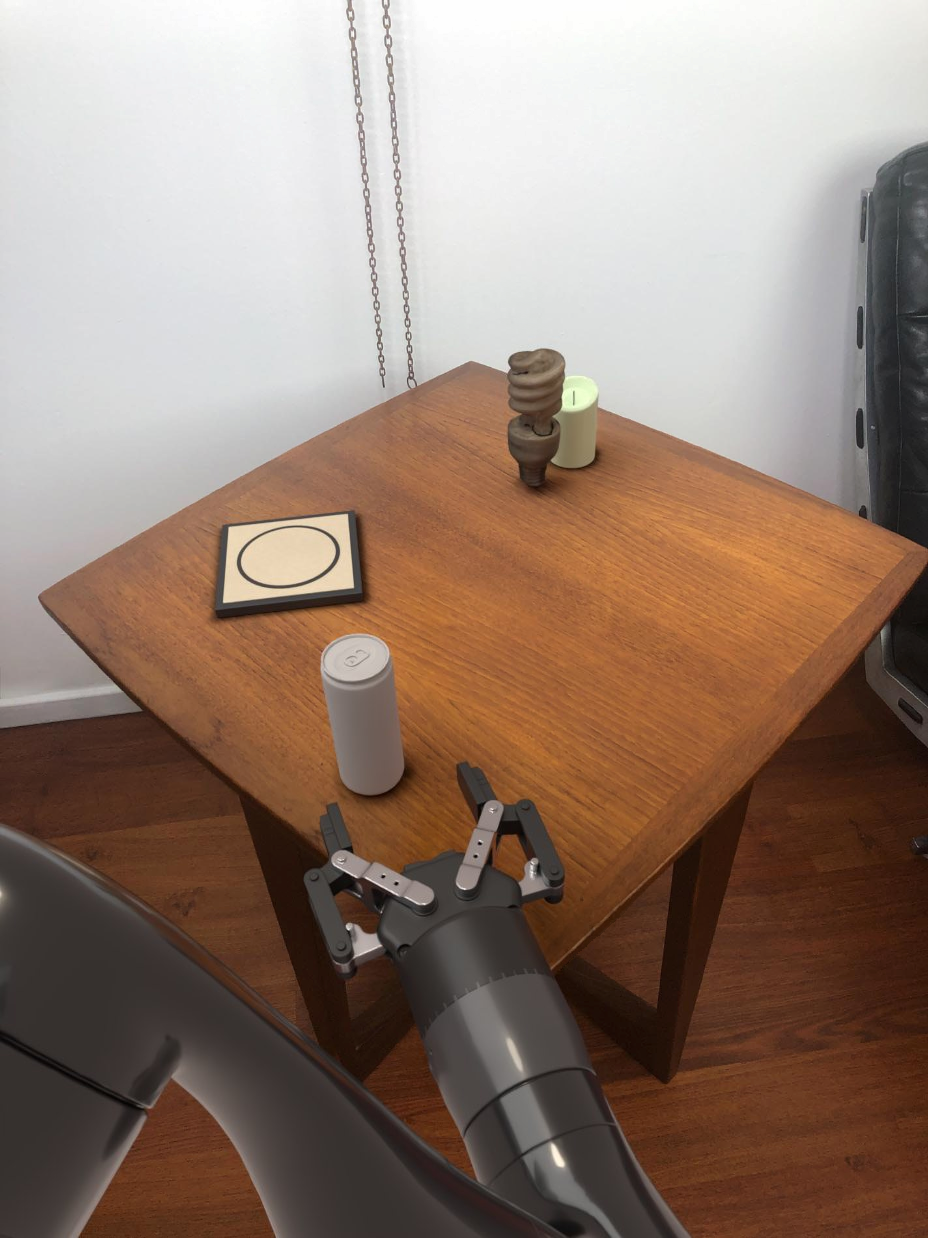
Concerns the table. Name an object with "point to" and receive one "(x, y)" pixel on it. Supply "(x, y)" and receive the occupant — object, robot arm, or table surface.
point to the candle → (577, 423)
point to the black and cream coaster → (288, 564)
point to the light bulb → (535, 410)
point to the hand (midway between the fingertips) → (397, 790)
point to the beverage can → (363, 712)
